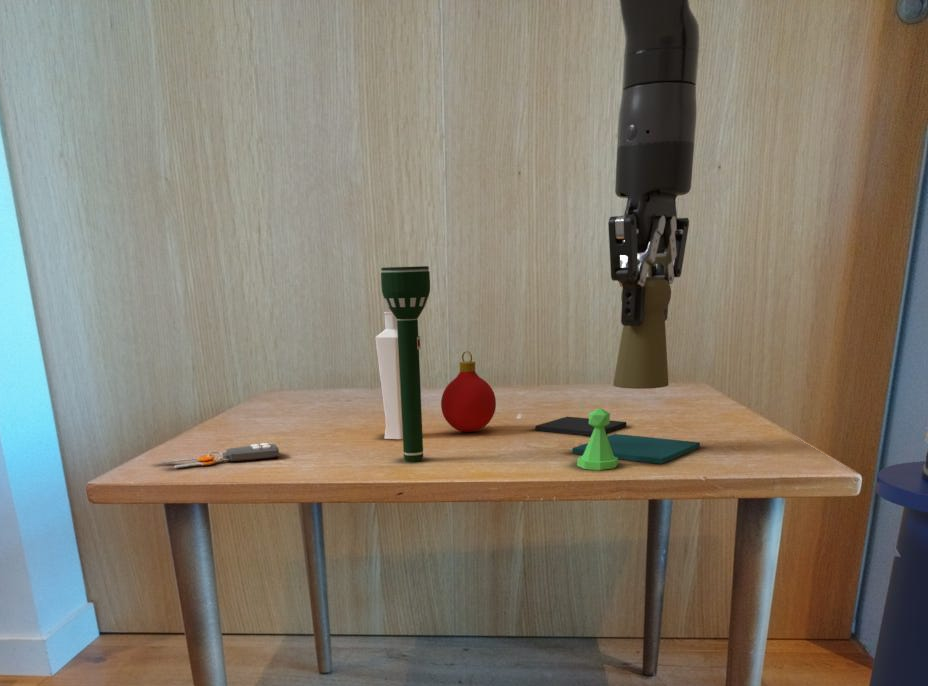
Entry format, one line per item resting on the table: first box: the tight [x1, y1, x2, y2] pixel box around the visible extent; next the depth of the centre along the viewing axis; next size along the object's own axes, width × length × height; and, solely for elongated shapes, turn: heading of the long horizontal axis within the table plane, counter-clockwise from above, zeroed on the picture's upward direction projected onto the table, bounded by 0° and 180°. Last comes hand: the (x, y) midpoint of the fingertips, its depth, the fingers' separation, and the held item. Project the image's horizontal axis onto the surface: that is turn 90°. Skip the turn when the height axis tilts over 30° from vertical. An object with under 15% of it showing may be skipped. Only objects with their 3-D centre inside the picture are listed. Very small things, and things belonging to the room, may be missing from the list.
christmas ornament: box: [440, 350, 497, 433], centre depth 109 cm, size 7×7×10 cm
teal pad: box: [571, 433, 701, 465], centre depth 97 cm, size 11×10×1 cm
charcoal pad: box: [534, 416, 627, 437], centre depth 110 cm, size 9×8×1 cm
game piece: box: [576, 407, 619, 471], centre depth 89 cm, size 4×4×6 cm
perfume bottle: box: [374, 311, 403, 440], centre depth 106 cm, size 5×4×15 cm
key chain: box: [162, 442, 280, 469], centre depth 98 cm, size 13×4×2 cm, turn 111°
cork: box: [612, 276, 672, 390], centre depth 91 cm, size 6×6×11 cm
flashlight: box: [380, 265, 431, 463], centre depth 92 cm, size 5×5×20 cm
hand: (644, 322), depth 91 cm, fingers closed on cork, 5 cm apart
